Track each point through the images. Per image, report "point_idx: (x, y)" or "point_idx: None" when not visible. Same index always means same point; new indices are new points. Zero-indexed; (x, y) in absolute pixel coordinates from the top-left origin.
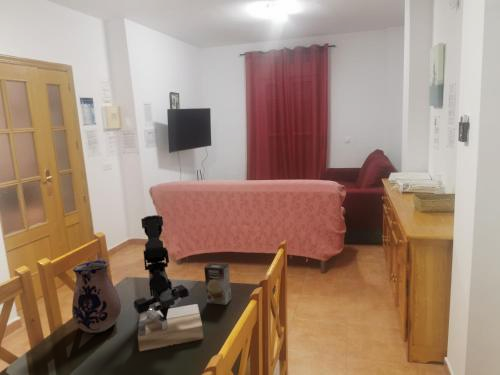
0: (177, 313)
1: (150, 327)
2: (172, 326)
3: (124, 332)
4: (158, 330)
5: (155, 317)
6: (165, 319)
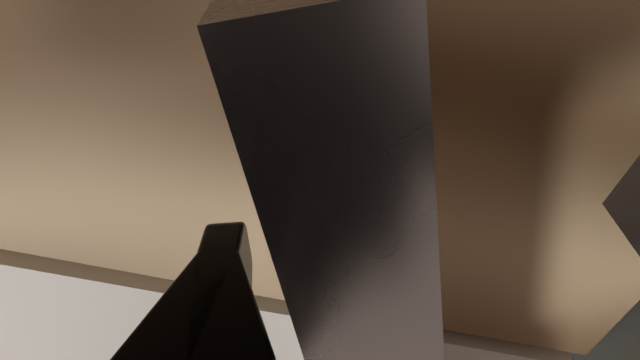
0: (22, 340)
1: (515, 209)
2: (131, 3)
3: (589, 354)
4: (450, 24)
5: (441, 339)
6: (248, 91)
